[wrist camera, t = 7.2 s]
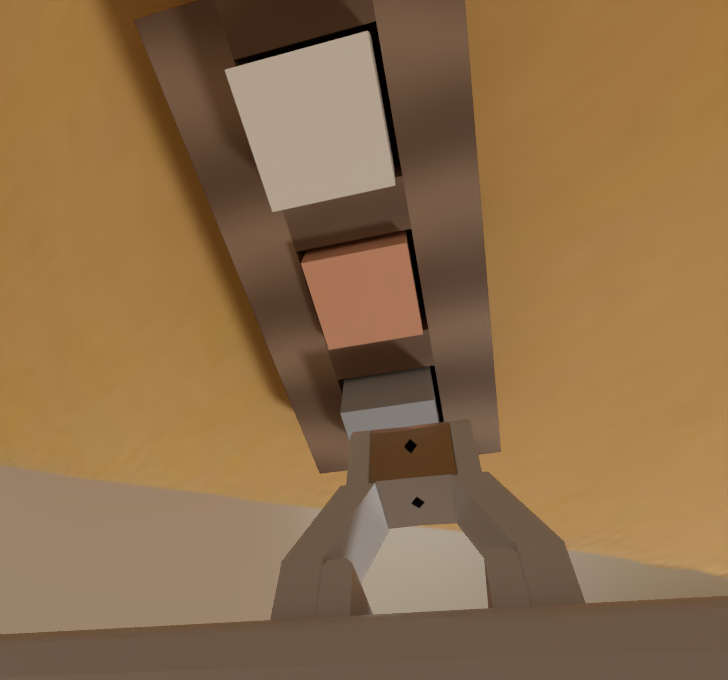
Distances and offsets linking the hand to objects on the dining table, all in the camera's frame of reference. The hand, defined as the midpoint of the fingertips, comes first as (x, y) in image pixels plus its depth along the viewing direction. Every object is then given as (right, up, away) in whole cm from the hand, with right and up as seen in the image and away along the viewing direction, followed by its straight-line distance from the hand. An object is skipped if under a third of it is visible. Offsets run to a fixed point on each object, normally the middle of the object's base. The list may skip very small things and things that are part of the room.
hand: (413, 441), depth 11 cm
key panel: (-1, +7, +14) cm, 16 cm away
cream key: (-3, +13, +8) cm, 15 cm away
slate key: (+1, 0, +17) cm, 17 cm away
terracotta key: (-1, +7, +14) cm, 16 cm away
